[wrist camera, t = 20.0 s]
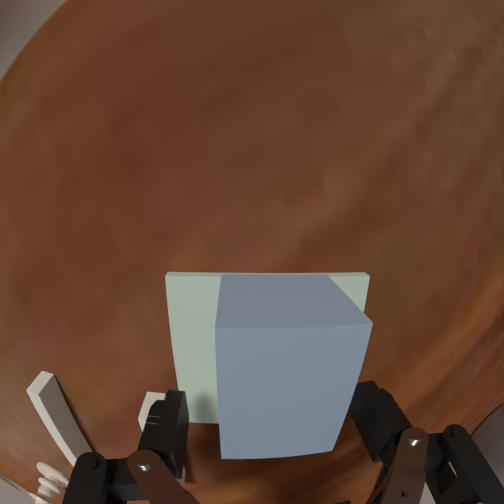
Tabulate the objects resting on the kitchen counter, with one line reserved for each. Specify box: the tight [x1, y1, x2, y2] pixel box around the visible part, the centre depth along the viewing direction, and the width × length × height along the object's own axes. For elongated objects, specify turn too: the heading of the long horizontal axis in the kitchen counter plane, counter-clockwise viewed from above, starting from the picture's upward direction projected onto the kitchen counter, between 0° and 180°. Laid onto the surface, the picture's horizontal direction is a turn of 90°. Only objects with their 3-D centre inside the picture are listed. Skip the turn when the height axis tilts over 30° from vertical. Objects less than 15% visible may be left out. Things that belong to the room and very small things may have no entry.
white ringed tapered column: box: [29, 462, 69, 504], centre depth 14 cm, size 5×5×10 cm
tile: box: [165, 272, 370, 424], centre depth 14 cm, size 10×10×1 cm
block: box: [215, 274, 373, 459], centre depth 11 cm, size 7×5×5 cm
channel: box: [26, 371, 186, 488], centre depth 15 cm, size 16×10×2 cm, turn 179°
